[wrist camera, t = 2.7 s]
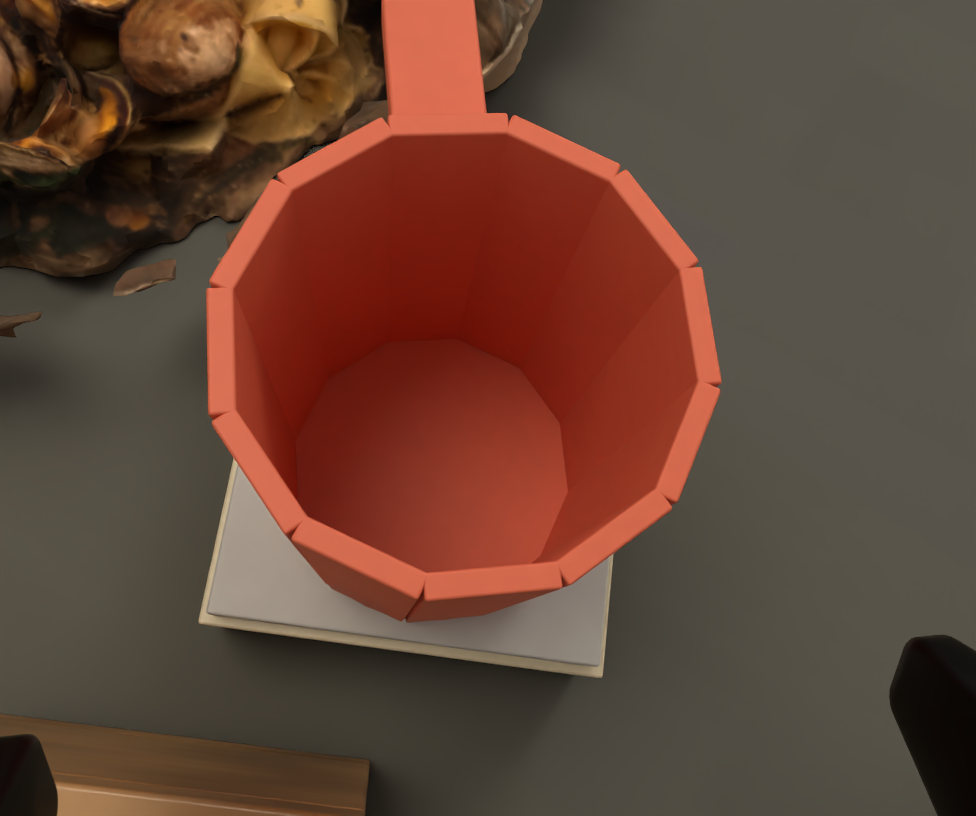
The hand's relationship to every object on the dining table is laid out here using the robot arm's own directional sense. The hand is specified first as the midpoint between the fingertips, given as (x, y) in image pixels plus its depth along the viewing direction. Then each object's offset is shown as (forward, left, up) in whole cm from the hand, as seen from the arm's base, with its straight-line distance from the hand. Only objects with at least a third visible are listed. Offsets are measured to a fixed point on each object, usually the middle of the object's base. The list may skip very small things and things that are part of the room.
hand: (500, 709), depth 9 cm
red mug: (+5, +1, -8) cm, 9 cm away
